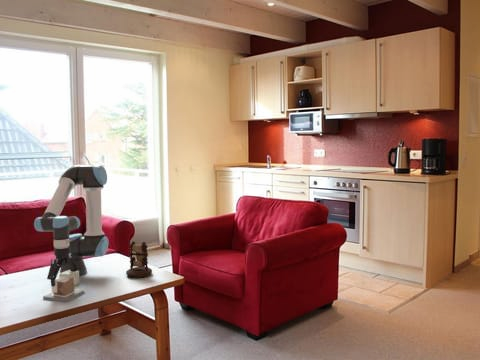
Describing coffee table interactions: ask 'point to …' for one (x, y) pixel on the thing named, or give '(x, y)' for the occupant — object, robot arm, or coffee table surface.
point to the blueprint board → (63, 298)
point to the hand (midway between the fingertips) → (63, 288)
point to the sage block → (67, 275)
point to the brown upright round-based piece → (138, 260)
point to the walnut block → (64, 286)
